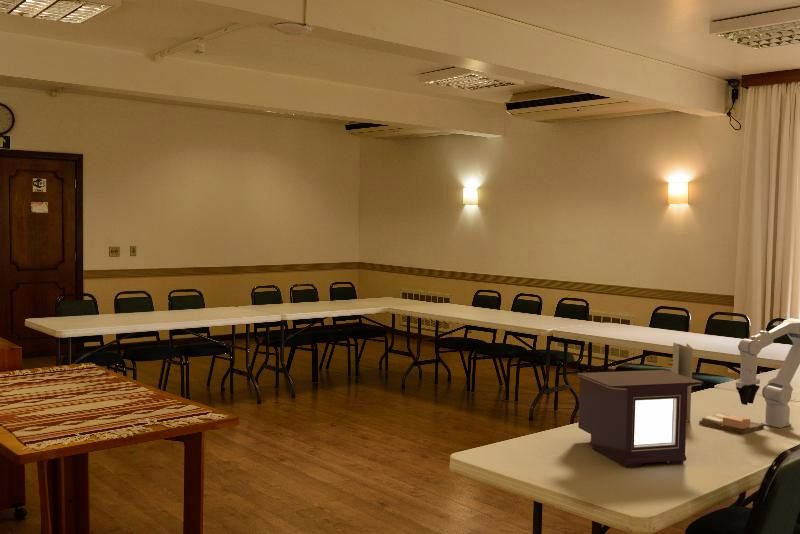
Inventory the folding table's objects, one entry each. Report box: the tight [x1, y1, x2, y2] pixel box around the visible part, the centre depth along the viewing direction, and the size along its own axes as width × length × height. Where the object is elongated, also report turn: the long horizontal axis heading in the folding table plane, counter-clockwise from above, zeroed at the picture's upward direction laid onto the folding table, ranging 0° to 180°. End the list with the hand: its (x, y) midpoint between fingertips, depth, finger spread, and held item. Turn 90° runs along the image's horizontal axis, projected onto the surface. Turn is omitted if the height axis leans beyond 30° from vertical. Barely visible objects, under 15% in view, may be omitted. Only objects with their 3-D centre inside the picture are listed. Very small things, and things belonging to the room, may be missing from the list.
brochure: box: [671, 342, 694, 423], centre depth 323 cm, size 14×6×30 cm, turn 168°
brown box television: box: [576, 369, 705, 469], centre depth 273 cm, size 35×35×27 cm
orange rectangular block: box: [723, 414, 751, 429], centre depth 305 cm, size 6×8×3 cm
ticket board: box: [698, 412, 765, 435], centre depth 311 cm, size 16×18×3 cm
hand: (747, 403), depth 309 cm, fingers open, 4 cm apart
